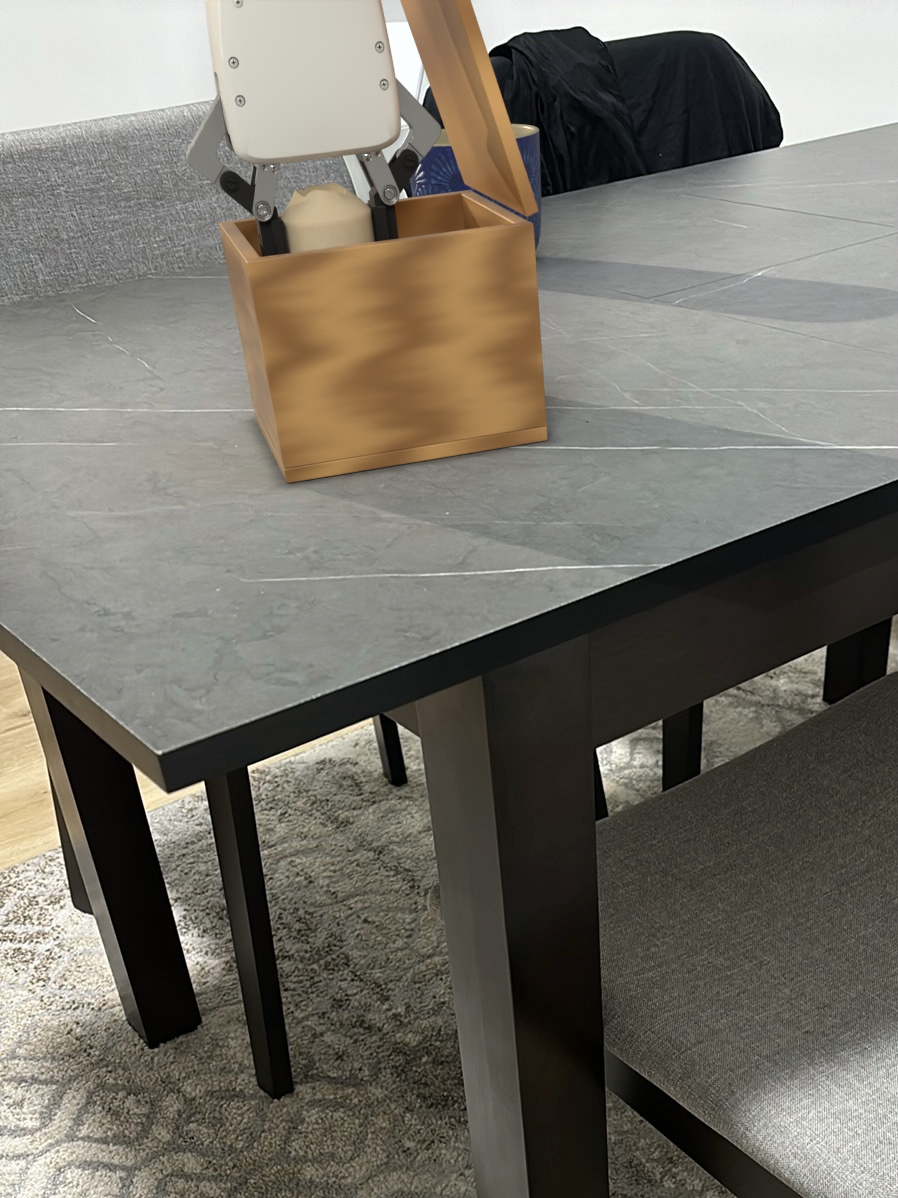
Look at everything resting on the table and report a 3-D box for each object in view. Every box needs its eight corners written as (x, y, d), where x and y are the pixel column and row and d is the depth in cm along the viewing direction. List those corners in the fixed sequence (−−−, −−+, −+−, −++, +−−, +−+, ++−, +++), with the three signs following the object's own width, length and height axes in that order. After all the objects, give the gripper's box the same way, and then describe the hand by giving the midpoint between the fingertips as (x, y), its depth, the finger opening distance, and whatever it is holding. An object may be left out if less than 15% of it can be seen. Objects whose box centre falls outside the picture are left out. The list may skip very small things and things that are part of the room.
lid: (405, -151, 69) (495, -194, 69) (352, -136, 81) (429, -173, 81) (527, 217, 80) (604, 180, 80) (464, 184, 92) (532, 151, 92)
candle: (386, 370, 87) (362, 189, 81) (299, 376, 87) (269, 197, 81) (393, 348, 91) (371, 175, 85) (310, 354, 91) (282, 182, 85)
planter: (408, 261, 138) (393, 134, 131) (528, 245, 140) (519, 119, 133) (433, 284, 128) (418, 149, 121) (562, 267, 130) (554, 133, 123)
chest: (286, 483, 85) (246, 261, 77) (255, 420, 96) (218, 222, 89) (548, 440, 88) (533, 223, 81) (488, 384, 100) (470, 189, 92)
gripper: (420, -93, 80) (454, 253, 91) (118, -66, 77) (191, 290, 87) (451, -97, 74) (484, 274, 85) (125, -68, 71) (203, 314, 82)
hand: (335, 278), depth 86 cm, fingers closed on candle, 5 cm apart
